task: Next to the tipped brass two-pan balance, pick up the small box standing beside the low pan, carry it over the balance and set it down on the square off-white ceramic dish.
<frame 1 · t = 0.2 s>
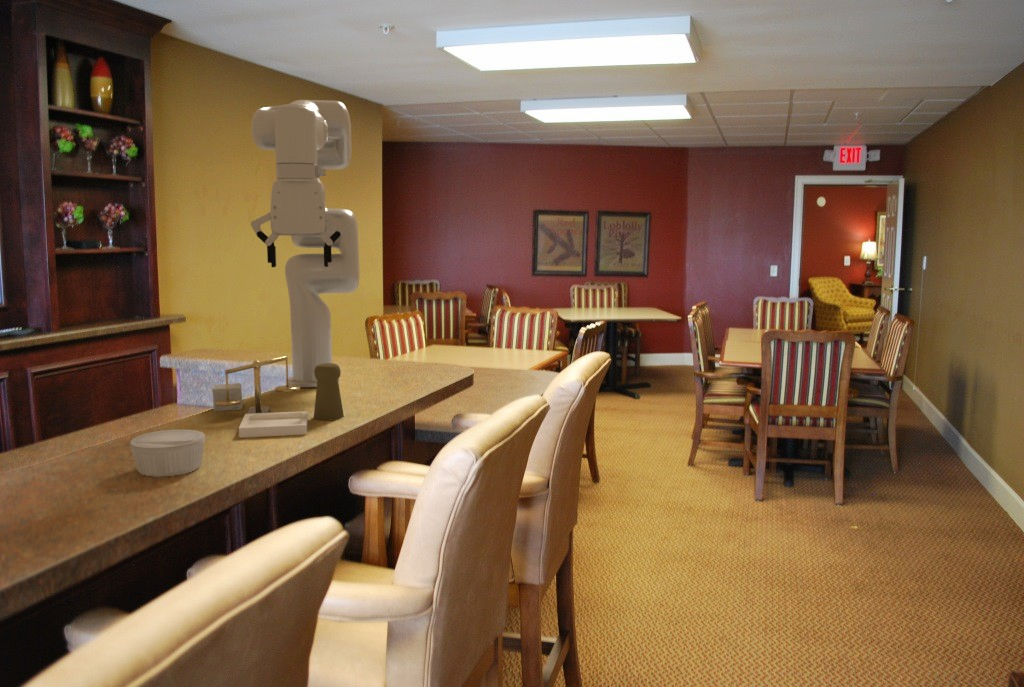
hand: (300, 266, 160), 31 cm above the table, fingers open, 9 cm apart
small box: (228, 409, 180), on the table
ramekin: (169, 470, 135), on the table
balance: (258, 415, 173), on the table
dish: (275, 428, 162), on the table
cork: (328, 418, 172), on the table
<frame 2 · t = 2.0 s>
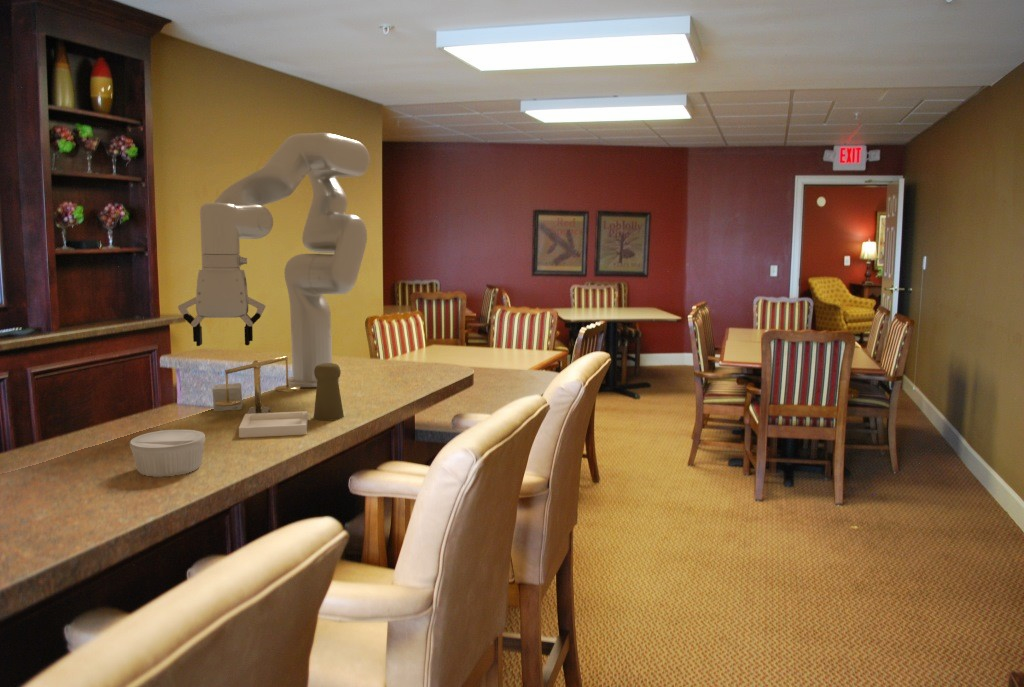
hand: (223, 344, 178), 14 cm above the table, fingers open, 9 cm apart
nothing on the table moved.
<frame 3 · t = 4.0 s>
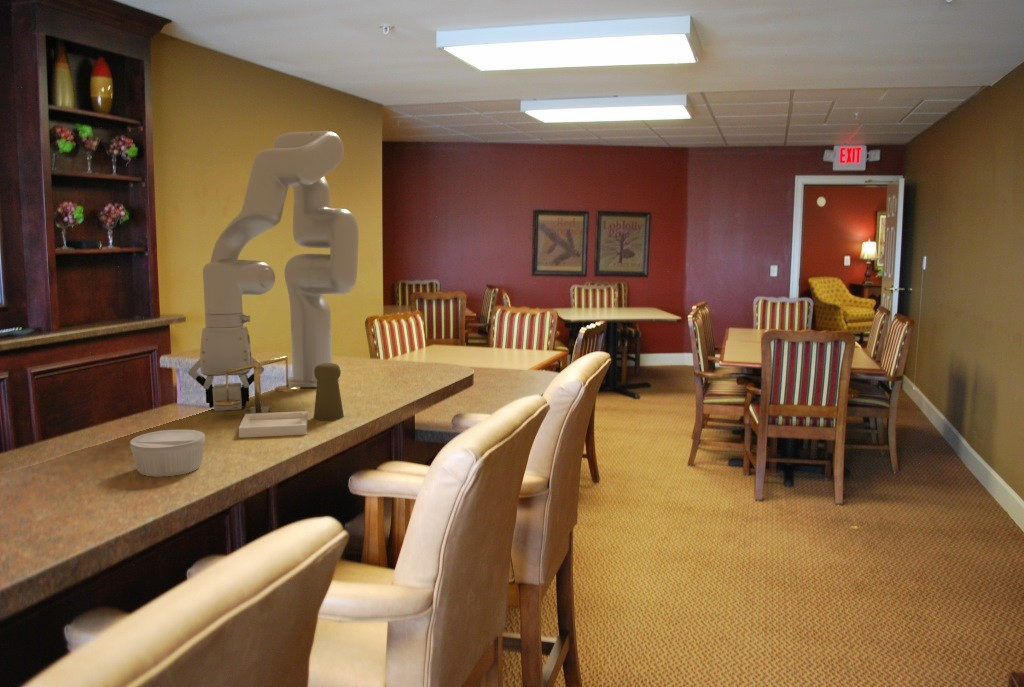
hand: (228, 405, 180), 1 cm above the table, fingers closed on small box, 5 cm apart
small box: (228, 408, 180), on the table, touching gripper
everything else where it was.
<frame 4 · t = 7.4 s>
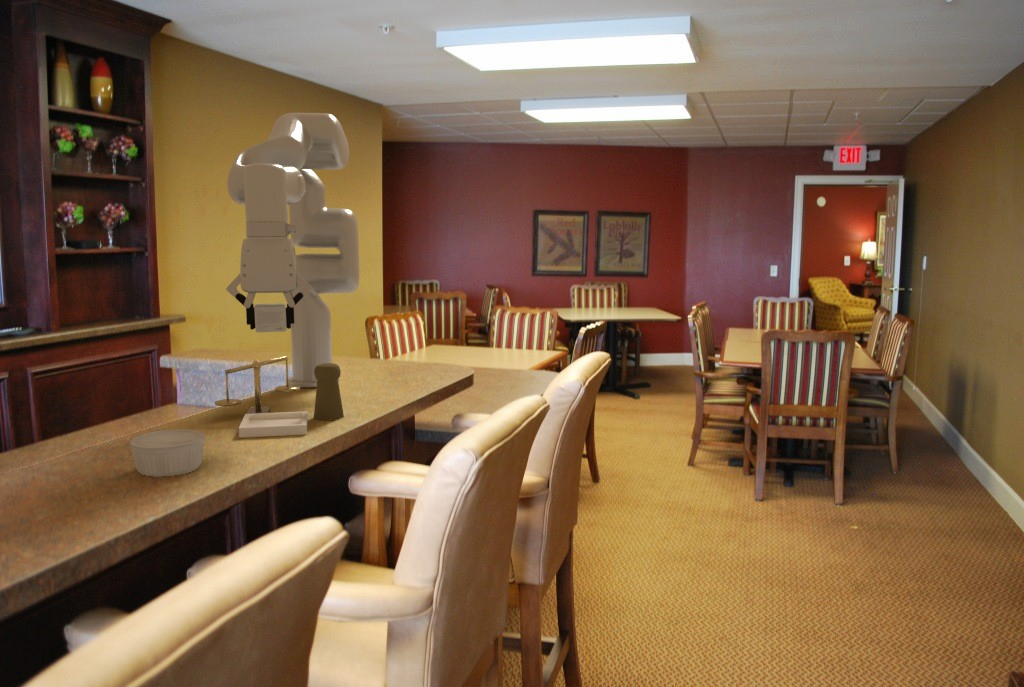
hand: (271, 327, 160), 19 cm above the table, fingers closed on small box, 5 cm apart
small box: (271, 331, 160), point 19 cm above the table, touching gripper
everything else where it was.
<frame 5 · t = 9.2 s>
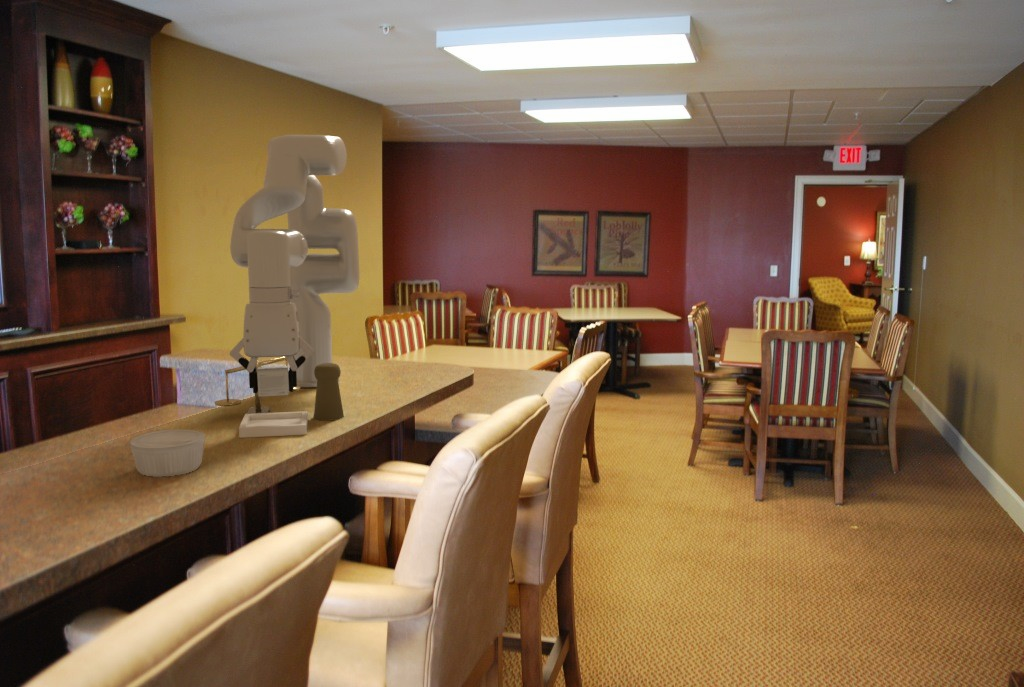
hand: (273, 390, 161), 7 cm above the table, fingers closed on small box, 5 cm apart
small box: (273, 394, 161), point 7 cm above the table, touching gripper
everything else where it was.
when the fingers open (3 cm above the table, at t = 10.9 s): small box drops 1 cm, resting on dish.
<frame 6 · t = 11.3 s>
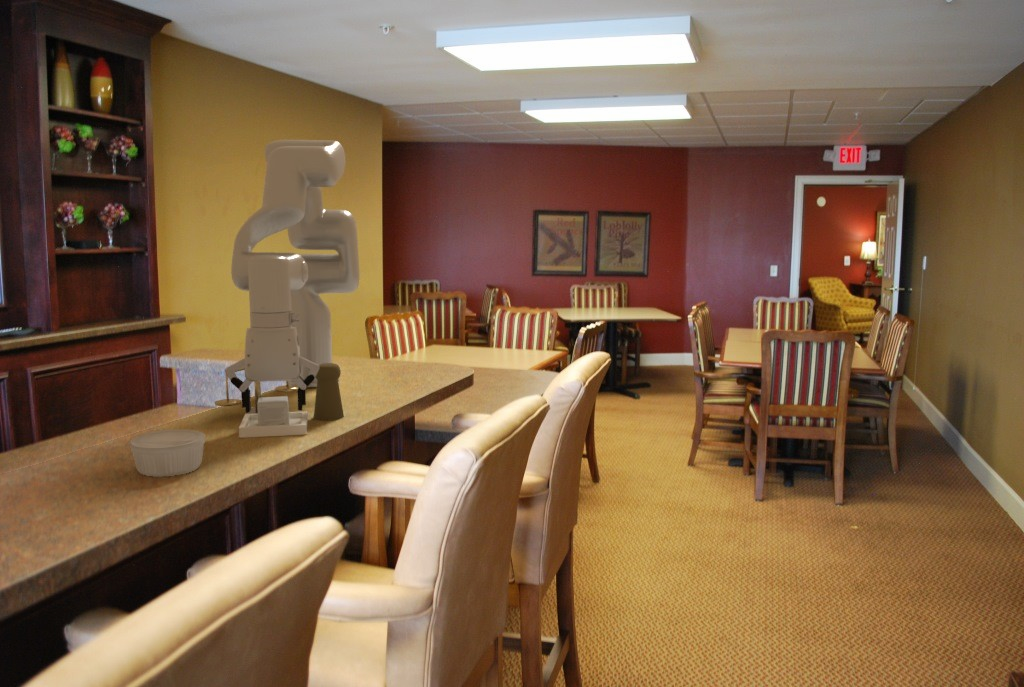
hand: (274, 410, 162), 4 cm above the table, fingers open, 9 cm apart
small box: (274, 425, 162), point 1 cm above the table, touching dish
everything else where it was.
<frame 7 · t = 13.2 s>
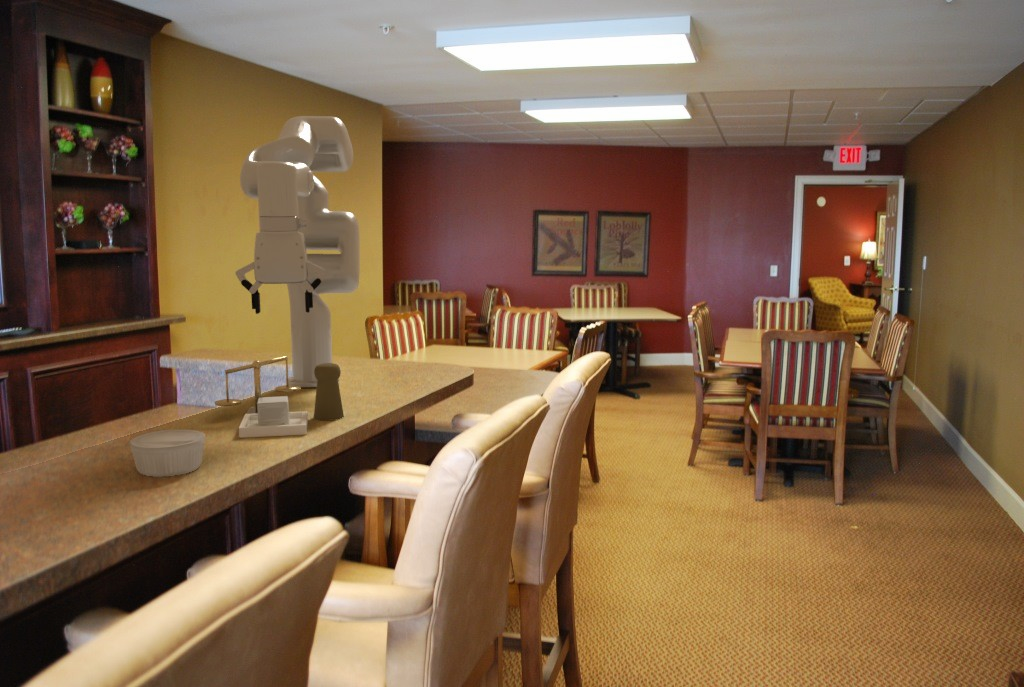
hand: (283, 312, 169), 21 cm above the table, fingers open, 9 cm apart
nothing on the table moved.
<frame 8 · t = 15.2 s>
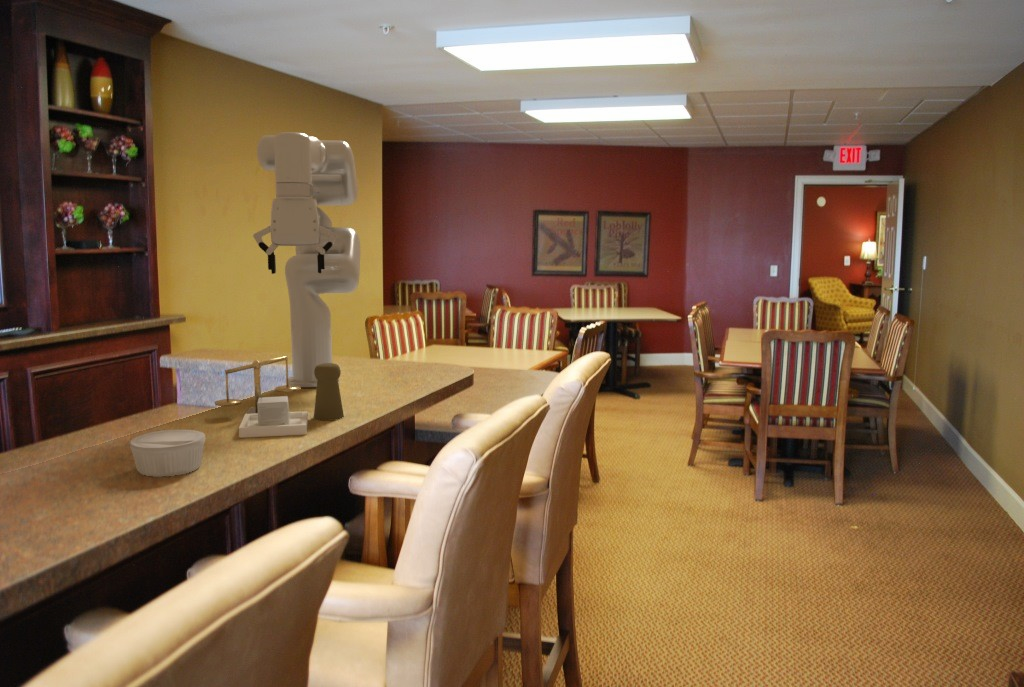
hand: (296, 273, 182), 28 cm above the table, fingers open, 9 cm apart
nothing on the table moved.
at the end: small box inside the target area on the dish (0.3 cm from its centre), point 0.6 cm above the dish's base; small box tilted 0°; the gripper is holding nothing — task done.
